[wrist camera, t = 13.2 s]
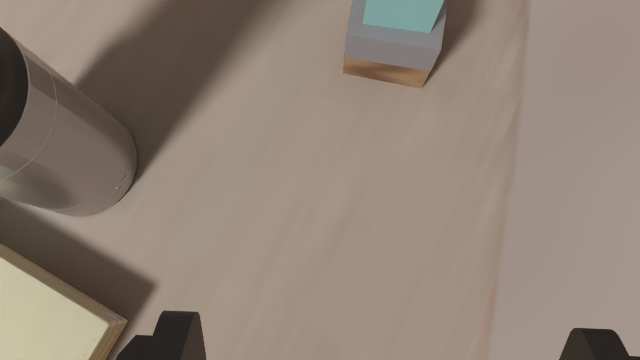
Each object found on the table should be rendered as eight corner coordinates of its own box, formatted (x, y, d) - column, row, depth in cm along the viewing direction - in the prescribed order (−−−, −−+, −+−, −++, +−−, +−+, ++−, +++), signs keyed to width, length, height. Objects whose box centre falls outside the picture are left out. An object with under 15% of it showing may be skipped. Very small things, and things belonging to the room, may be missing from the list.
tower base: (343, 73, 48) (344, 54, 44) (358, 2, 49) (361, -23, 45) (421, 88, 48) (429, 71, 44) (435, 16, 49) (444, -7, 45)
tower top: (344, 57, 44) (346, 35, 40) (358, -21, 45) (361, -50, 41) (430, 71, 44) (440, 50, 40) (442, -8, 45) (453, -36, 41)
